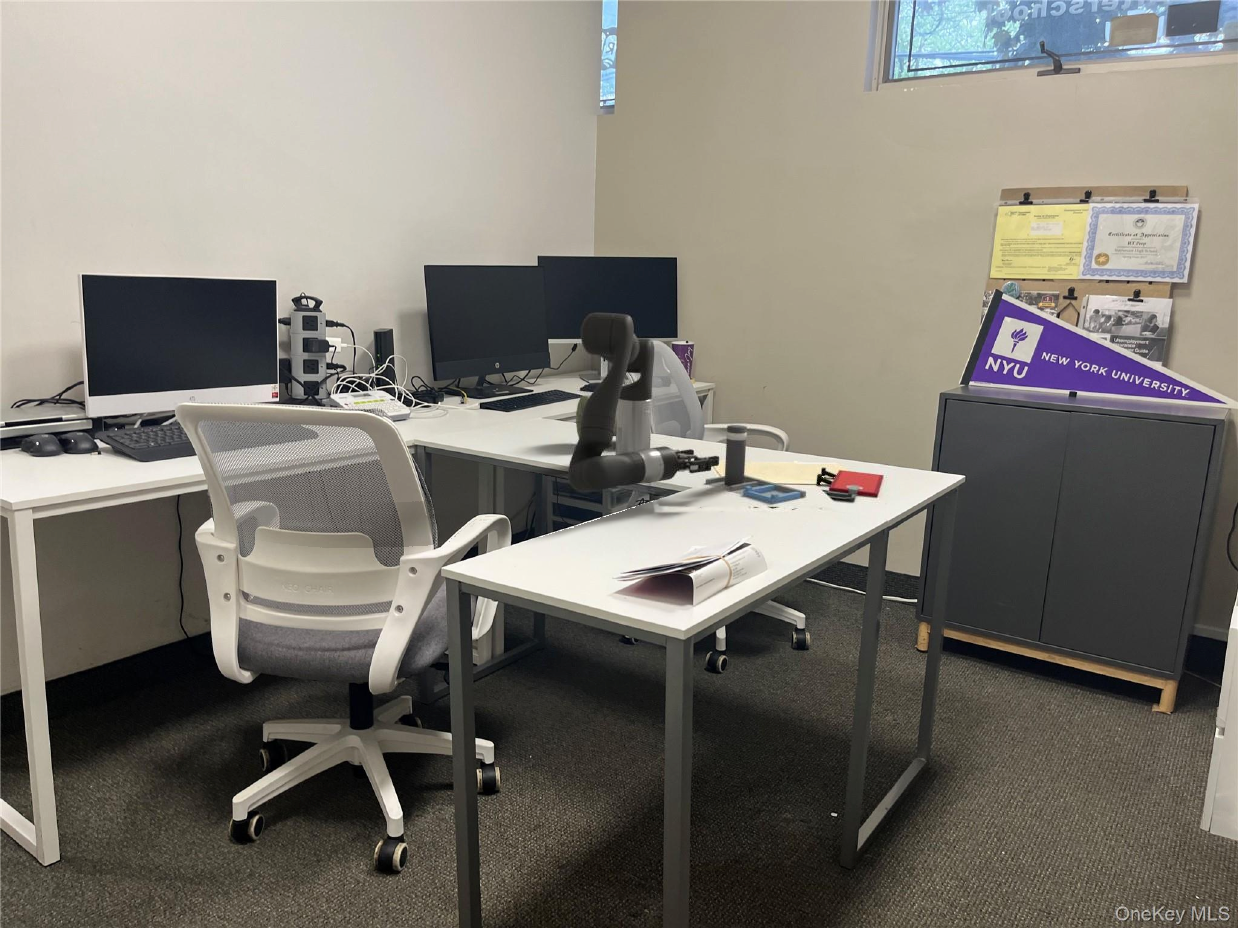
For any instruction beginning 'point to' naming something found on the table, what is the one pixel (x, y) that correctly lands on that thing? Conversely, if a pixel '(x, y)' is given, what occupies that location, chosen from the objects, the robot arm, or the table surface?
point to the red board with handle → (851, 484)
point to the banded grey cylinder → (735, 454)
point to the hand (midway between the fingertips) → (705, 457)
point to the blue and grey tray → (759, 489)
